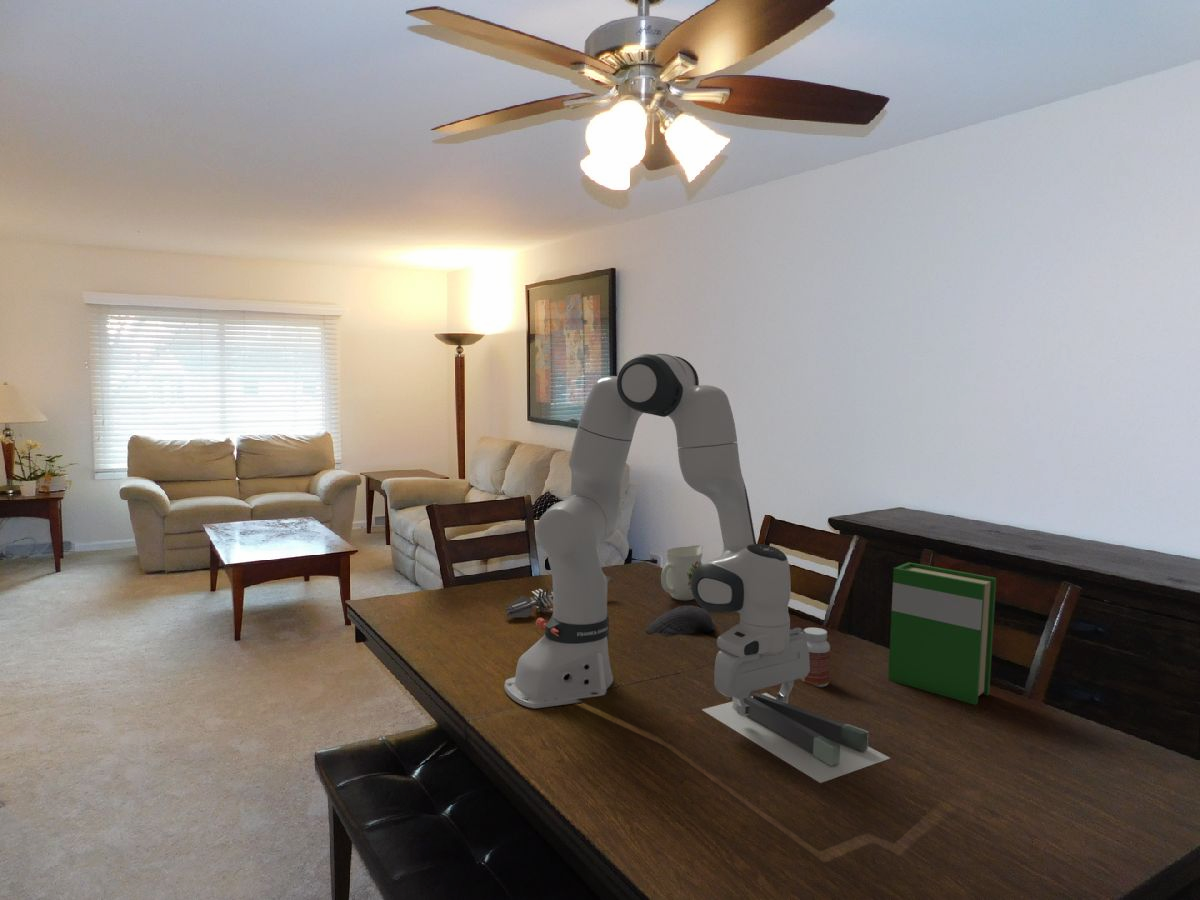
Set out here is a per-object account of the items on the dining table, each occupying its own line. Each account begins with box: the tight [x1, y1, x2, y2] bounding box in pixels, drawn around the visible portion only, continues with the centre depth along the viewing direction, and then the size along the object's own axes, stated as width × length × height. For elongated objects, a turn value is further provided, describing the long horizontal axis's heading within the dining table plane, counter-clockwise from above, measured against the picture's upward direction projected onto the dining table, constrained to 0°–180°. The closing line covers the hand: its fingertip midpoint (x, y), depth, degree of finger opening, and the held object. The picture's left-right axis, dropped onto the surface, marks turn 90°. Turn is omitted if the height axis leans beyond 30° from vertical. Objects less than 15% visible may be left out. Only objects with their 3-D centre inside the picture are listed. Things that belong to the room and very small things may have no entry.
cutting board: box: [701, 692, 891, 784], centre depth 138 cm, size 16×30×1 cm, turn 30°
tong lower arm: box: [731, 692, 840, 766], centre depth 137 cm, size 26×4×4 cm, turn 30°
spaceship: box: [504, 574, 612, 618], centre depth 211 cm, size 8×35×8 cm
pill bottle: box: [799, 627, 831, 688], centre depth 162 cm, size 6×6×11 cm
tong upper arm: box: [752, 692, 870, 752], centre depth 138 cm, size 22×2×3 cm, turn 44°
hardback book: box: [887, 561, 997, 706], centre depth 160 cm, size 18×7×24 cm, turn 46°
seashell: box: [644, 604, 718, 637], centre depth 195 cm, size 14×19×8 cm
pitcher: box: [660, 544, 704, 601], centre depth 222 cm, size 11×18×14 cm, turn 137°
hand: (762, 708), depth 143 cm, fingers open, 8 cm apart
